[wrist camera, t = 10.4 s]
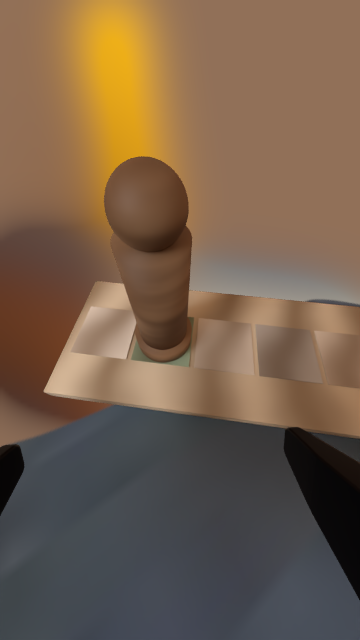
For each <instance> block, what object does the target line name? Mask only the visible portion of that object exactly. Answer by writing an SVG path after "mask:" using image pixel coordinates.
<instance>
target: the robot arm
mask: <svg viewBox="0 0 360 640" xmlns="http://www.w3.org/2000/svg"><path fill="white" fill-rule="evenodd" d="M284 452H285V455H286V457H287V460H288V462H289V464H290V466H291V469H292V471H293V473H294V475H295V477H296V480H297V482H298V484H299V486H300V489H301V491H302V493H303V495H304V498H305V500H306V502H307V504H308V506H309V508H310V510H311V512H312V514H313V516H314V518H315V520H316V521H317V523H318V525H319V527H320V529H321V531H322V532H323V534H324V536H325V538H326V540H327V542H328V543H329V545H330V547H331V549H332V551H333V552H334V554H335V556H336V558H337V560H338V562H339V563H340V565H341V567H342V569H343V571H344V573H345V574H346V576H347V578H348V580H349V582H350V583H351V585H352V587H353V589H354V591H355V593H356V594H357V596H358V598H359V600H360V463H359V462H357V461H356V460H354V459H352V458H351V457H349V456H347V455H346V454H344V453H342V452H340V451H339V450H337V449H335V448H334V447H332V446H330V445H329V444H327V443H325V442H324V441H322V440H320V439H319V438H317V437H315V436H314V435H312V434H310V433H308V432H307V431H305V430H303V429H302V428H300V427H288V428H286V430H285V439H284ZM23 470H24V460H23V456H22V452H21V448H20V446H19V445H17V444H12V445H4V446H2V447H0V515H1V513H2V511H3V510H4V508H5V506H6V504H7V502H8V500H9V498H10V496H11V494H12V492H13V490H14V488H15V486H16V485H17V483H18V481H19V479H20V477H21V475H22V473H23Z"/></svg>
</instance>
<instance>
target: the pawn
mask: <svg viewBox="0 0 360 640" xmlns="http://www.w3.org/2000/svg"><path fill="white" fill-rule="evenodd" d="M104 205H105V212H106V216H107V219H108V222H109V224H110V226H111V228H112V229H113V231H114V233H113V235H112V237H111V248H112V251H113V254H114V257H115V260H116V263H117V266H118V269H119V272H120V275H121V278H122V281H123V284H124V287H125V290H126V293H127V296H128V299H129V302H130V304H131V307H132V310H133V313H134V316H135V319H136V322H137V324H136V327H135V336H136V339H137V342H138V344H139V347H140V349H141V351H142V353H143V354H144V355H145V356H146V357H147V358H149V359H151V360H153V361H156V362H161V363H166V362H172V361H175V360H177V359H179V358H180V357H182V356H183V355H184V354H185V353H186V351H187V350H188V348H189V346H190V342H191V333H192V326H191V322H190V320H189V318H188V317H187V315H188V298H189V281H190V264H191V247H192V236H191V233H190V231H189V229H188V228H187V227H186V226H185V225H186V222H187V218H188V197H187V194H186V190H185V187H184V185H183V183H182V181H181V179H180V178H179V177H178V175H177V174H176V173H175V171H174V170H173V169H172V168H171V167H169V166H168V165H167V164H165V163H164V162H162V161H160V160H158V159H155V158H152V157H135V158H131V159H129V160H127V161H125V162H123V163H122V164H120V165H119V166H118V167H117V168H116V169H115V170H114V172H113V173H112V174H111V176H110V178H109V180H108V182H107V185H106V189H105V195H104Z"/></svg>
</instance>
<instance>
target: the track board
mask: <svg viewBox="0 0 360 640" xmlns="http://www.w3.org/2000/svg"><path fill="white" fill-rule="evenodd" d="M187 317H188V318H189V320H190V322H191V326H192V333H191V342H190V346H189V348H188V350H187V351H186V353H185V354H184V355H183V356H182V357H180V358H179V359H177V360H175V361H172V362H166V363H161V362H156V361H153V360H151V359H149V358H147V357H146V356H145V355H144V354H143V353H142V351H141V349H140V347H139V344H138V342H137V339H136V336H135V327H136V324H137V322H136V319H135V316H134V313H133V310H132V307H131V304H130V302H129V299H128V296H127V293H126V290H125V287H124V284H121V283H111V282H101V281H96V283H95V285H94V287H93V289H92V291H91V293H90V296H89V297H88V300H87V301H86V304H85V306H84V308H83V310H82V312H81V314H80V316H79V318H78V320H77V322H76V325H75V327H74V329H73V331H72V333H71V335H70V337H69V339H68V342H67V343H66V346H65V348H64V350H63V352H62V354H61V356H60V358H59V360H58V362H57V364H56V367H55V369H54V371H53V373H52V375H51V377H50V379H49V381H48V384H47V386H46V388H45V390H44V392H45V393H47V394H50V395H53V396H59V397H67V398H73V399H80V400H88V401H95V402H102V403H109V404H116V405H123V406H130V407H137V408H144V409H151V410H159V411H166V412H173V413H180V414H187V415H194V416H201V417H208V418H215V419H222V420H230V421H237V422H244V423H251V424H258V425H265V426H272V427H279V428H288V427H300V428H302V429H303V430H305V431H308V432H315V433H322V434H329V435H336V436H343V437H350V438H357V439H360V307H353V306H343V305H332V304H322V303H312V302H302V301H292V300H282V299H272V298H261V297H252V296H242V295H232V294H221V293H211V292H201V291H191V290H189V298H188V315H187Z"/></svg>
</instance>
